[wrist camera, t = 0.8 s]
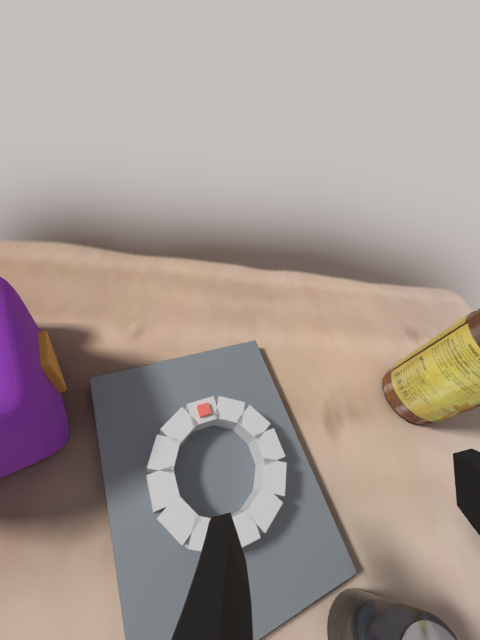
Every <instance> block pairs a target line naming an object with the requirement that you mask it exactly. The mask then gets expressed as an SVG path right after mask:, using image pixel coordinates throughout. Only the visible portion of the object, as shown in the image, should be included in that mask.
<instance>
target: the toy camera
mask: <svg viewBox="0 0 480 640" xmlns="http://www.w3.org/2000/svg"><path fill="white" fill-rule="evenodd" d="M65 391H67V387H66V384H65V381H64V378H63V375H62V372H61V370H60V367H59V364H58V361H57V358H56V355H55V352H54V349H53V346H52V344H51V341H50V338H49V335H48V332H47V331H41V332H40V330H39V328H38V327H37V325H36V323H35V321H34V320H33V318H32V316H31V315H30V313H29V311H28V309H27V308H26V306H25V305H24V303H23V301H22V300H21V298H20V296H19V295H18V294H17V292H16V291H15V290H14V288H13V287H12V286H11V285H10V284H9V283H8V282H7V281H6V280H4V279H3V278H1V277H0V478H2V477H5V476H7V475H9V474H11V473H14V472H16V471H18V470H21V469H23V468H25V467H28V466H30V465H32V464H34V463H36V462H38V461H41V460H43V459H45V458H47V457H49V456H51V455H53V454H54V453H56V452H57V451H59V450H60V449H61V448H63V447H64V445H65V444H66V443H67V440H68V437H69V423H68V417H67V413H66V410H65V406H64V402H63V398H62V394H61V393H62V392H65Z"/></svg>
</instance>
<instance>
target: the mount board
mask: <svg viewBox="0 0 480 640" xmlns="http://www.w3.org/2000/svg"><path fill="white" fill-rule="evenodd" d="M90 384H91V391H92V399H93V406H94V413H95V421H96V428H97V435H98V442H99V450H100V457H101V464H102V471H103V479H104V486H105V493H106V501H107V508H108V515H109V522H110V530H111V537H112V544H113V552H114V559H115V566H116V573H117V581H118V588H119V595H120V603H121V610H122V617H123V624H124V632H125V639H126V640H171V639H172V636H173V633H174V631H175V628H176V625H177V623H178V620H179V617H180V615H181V612H182V609H183V607H184V604H185V601H186V598H187V595H188V592H189V589H190V586H191V583H192V580H193V577H194V574H195V571H196V568H197V564H198V561H199V558H200V554H201V551H202V547H203V544H204V540H205V536H206V532H207V528H208V524H209V521H210V519H211V518H212V517H215V516H219V515H222V514H226V513H230V512H231V515H232V518H233V521H234V525H235V528H236V531H237V534H238V537H239V540H240V543H241V546H242V549H243V553H244V556H245V559H246V563H247V571H248V579H249V587H250V595H251V604H252V625H253V640H259V639H260V638H262V637H263V636H265V635H266V634H268V633H269V632H271V631H272V630H274V629H275V628H277V627H278V626H279V625H281V624H282V623H284V622H285V621H287V620H288V619H290V618H291V617H293V616H294V615H296V614H297V613H299V612H300V611H302V610H303V609H304V608H306V607H307V606H309V605H310V604H312V603H313V602H315V601H316V600H318V599H319V598H321V597H322V596H324V595H325V594H327V593H328V592H329V591H331V590H332V589H334V588H335V587H337V586H338V585H340V584H341V583H343V582H344V581H346V580H347V579H349V578H350V577H352V576H353V575H354V574H356V573H357V571H356V569H355V567H354V564H353V562H352V560H351V557H350V555H349V553H348V551H347V548H346V546H345V544H344V542H343V539H342V537H341V535H340V532H339V530H338V528H337V526H336V523H335V521H334V519H333V516H332V514H331V512H330V510H329V507H328V505H327V503H326V501H325V498H324V496H323V494H322V491H321V489H320V487H319V485H318V482H317V480H316V478H315V475H314V473H313V471H312V469H311V466H310V464H309V462H308V460H307V457H306V455H305V453H304V450H303V448H302V446H301V444H300V441H299V439H298V437H297V434H296V432H295V430H294V428H293V425H292V423H291V421H290V419H289V416H288V414H287V412H286V409H285V407H284V405H283V403H282V400H281V398H280V396H279V394H278V391H277V389H276V387H275V384H274V382H273V380H272V378H271V375H270V373H269V371H268V368H267V366H266V364H265V362H264V359H263V357H262V355H261V353H260V350H259V348H258V346H257V343H256V341H255V340H254V341H250V342H246V343H241V344H237V345H232V346H228V347H224V348H219V349H215V350H210V351H206V352H202V353H197V354H193V355H188V356H184V357H180V358H175V359H171V360H166V361H162V362H158V363H153V364H149V365H144V366H140V367H136V368H131V369H127V370H122V371H118V372H114V373H109V374H105V375H100V376H96V377H92V378H90Z"/></svg>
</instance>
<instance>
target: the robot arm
mask: <svg viewBox="0 0 480 640" xmlns="http://www.w3.org/2000/svg"><path fill="white" fill-rule="evenodd" d="M453 460H454V473H455V486H456V498H457V506H458V507H459V508H460V510H461V511H462V513H463V514H464V515H465V517H466V518H467V519H468V521H469V522H470V523H471V525H472V526H473V527H474V529H475V530H476V531H477V533H478V534H479V535H480V452H478V451H476V450H474V449H469V450H465V451H461V452H457V453H454V454H453ZM171 640H253V625H252V604H251V595H250V587H249V579H248V571H247V563H246V559H245V556H244V553H243V549H242V546H241V543H240V540H239V537H238V534H237V531H236V528H235V525H234V521H233V518H232V515H231V512H230V513H226V514H222V515H219V516H215V517H212V518H211V519H210V521H209V524H208V528H207V532H206V536H205V540H204V544H203V547H202V551H201V554H200V558H199V561H198V564H197V568H196V571H195V574H194V577H193V580H192V583H191V586H190V589H189V592H188V595H187V598H186V601H185V604H184V607H183V609H182V612H181V615H180V617H179V620H178V623H177V625H176V628H175V631H174V633H173V636H172V639H171Z"/></svg>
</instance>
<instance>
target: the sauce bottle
mask: <svg viewBox="0 0 480 640" xmlns="http://www.w3.org/2000/svg"><path fill="white" fill-rule="evenodd" d="M382 384H383V386H382V387H383V391H384V393H385V398H386V399H387V401H388V403H389V404H390V406H391V407H392V409H393V410H394V411H395V412H396V413H397V414H398V415H399V416H401V417H403V418H404V419H405V420H407V421H409V422H411V423H414V424H429V423H432V422H439V421H442V420H444V419H447V418H449V417H452V416H455V415H457V414H460V413H462V412H465V411H468V410H470V409H473V408H475V407H478V406H480V309H478V310H477V311H475V312H472V313H470V314H468V315H467V316H465V317H464V318H462V319H461V320H459V321H458V322H456V323H455V324H453V325H452V326H450V327H449V328H447V329H446V330H445V331H443V332H442V333H440V334H439V335H437V336H436V337H434V338H433V339H431V340H430V341H428V342H427V343H425V344H424V345H422V346H421V347H419V348H418V349H416V350H415V351H413V352H412V353H410V354H409V355H408V356H406V357H405V358H403V359H402V360H400V361H399V362H397V363H396V364H395V365H394V366H393V367H392V368H391V369H390V370H388V372H387V373H386V374H385V376H384V378H383V383H382Z"/></svg>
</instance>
